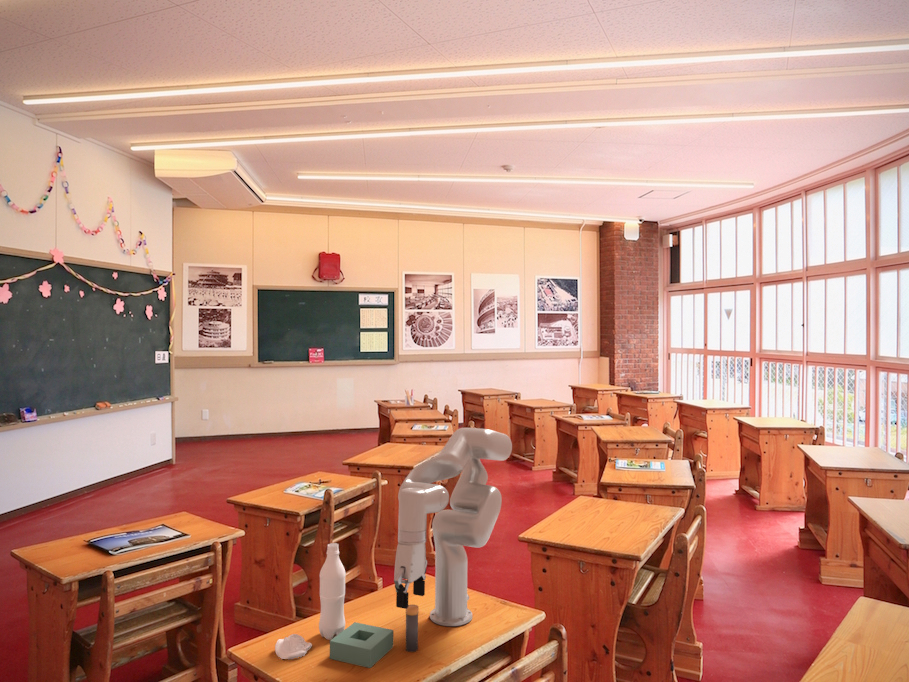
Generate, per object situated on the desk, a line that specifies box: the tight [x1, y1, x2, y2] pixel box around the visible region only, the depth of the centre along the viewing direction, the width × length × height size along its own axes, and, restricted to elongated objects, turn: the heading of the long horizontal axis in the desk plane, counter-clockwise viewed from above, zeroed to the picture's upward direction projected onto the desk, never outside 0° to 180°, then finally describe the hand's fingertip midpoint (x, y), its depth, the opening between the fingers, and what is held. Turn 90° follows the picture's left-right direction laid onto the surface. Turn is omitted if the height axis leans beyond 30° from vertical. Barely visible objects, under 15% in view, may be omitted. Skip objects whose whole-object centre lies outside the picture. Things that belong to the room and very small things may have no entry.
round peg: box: [405, 604, 419, 653], centre depth 162 cm, size 3×3×11 cm
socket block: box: [329, 621, 394, 669], centre depth 160 cm, size 12×12×4 cm
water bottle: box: [318, 542, 347, 641], centre depth 170 cm, size 7×7×25 cm
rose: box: [274, 633, 313, 660], centre depth 161 cm, size 10×4×10 cm
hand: (410, 601), depth 162 cm, fingers open, 9 cm apart
